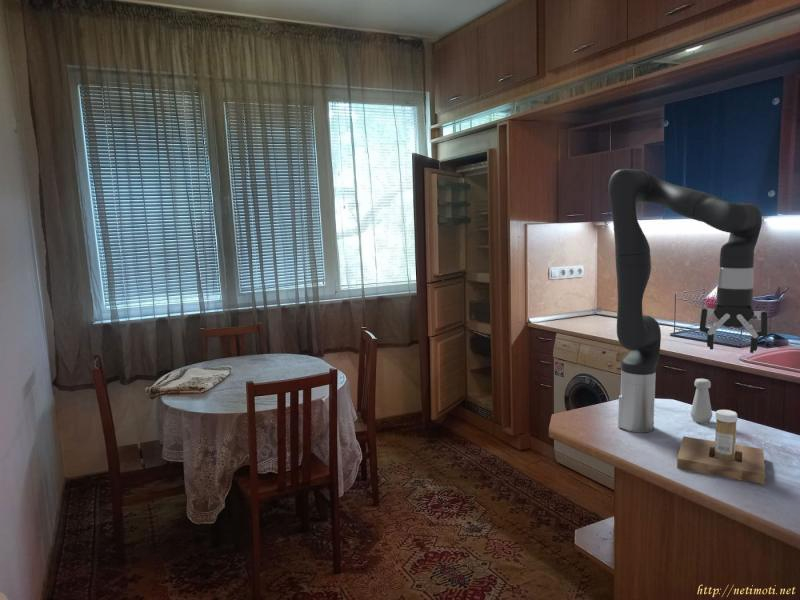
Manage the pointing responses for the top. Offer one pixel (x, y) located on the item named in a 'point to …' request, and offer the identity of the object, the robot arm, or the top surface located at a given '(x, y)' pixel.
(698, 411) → the salt shaker
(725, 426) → the sprinkles bottle
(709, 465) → the holder board
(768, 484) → the top surface
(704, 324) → the robot arm
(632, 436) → the top surface
